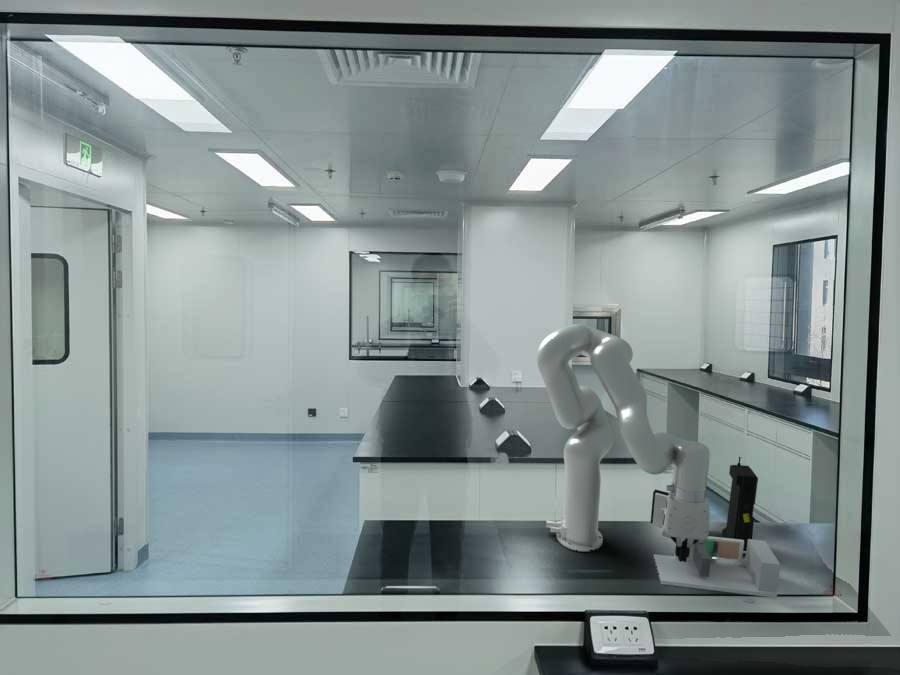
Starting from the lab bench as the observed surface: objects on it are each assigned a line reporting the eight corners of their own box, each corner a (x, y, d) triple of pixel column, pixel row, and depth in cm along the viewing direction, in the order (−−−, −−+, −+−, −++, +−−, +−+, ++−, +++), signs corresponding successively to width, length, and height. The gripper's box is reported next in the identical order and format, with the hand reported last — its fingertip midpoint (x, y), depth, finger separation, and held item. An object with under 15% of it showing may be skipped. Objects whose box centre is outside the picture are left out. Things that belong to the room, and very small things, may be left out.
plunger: (700, 576, 135) (702, 556, 134) (693, 558, 142) (695, 539, 141) (748, 582, 133) (751, 561, 132) (739, 563, 140) (741, 544, 139)
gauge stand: (661, 584, 135) (664, 553, 133) (653, 557, 146) (656, 528, 144) (776, 597, 130) (781, 565, 129) (760, 569, 141) (764, 539, 139)
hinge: (701, 528, 160) (705, 496, 158) (702, 538, 155) (706, 505, 153) (650, 518, 165) (653, 488, 163) (650, 528, 160) (652, 496, 158)
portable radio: (753, 557, 146) (765, 470, 141) (728, 555, 147) (739, 468, 142) (744, 541, 153) (755, 457, 148) (720, 538, 155) (730, 455, 149)
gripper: (659, 496, 132) (652, 564, 136) (725, 502, 130) (717, 571, 134) (653, 481, 140) (648, 546, 144) (717, 487, 137) (709, 553, 141)
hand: (681, 558), depth 139 cm, fingers closed
